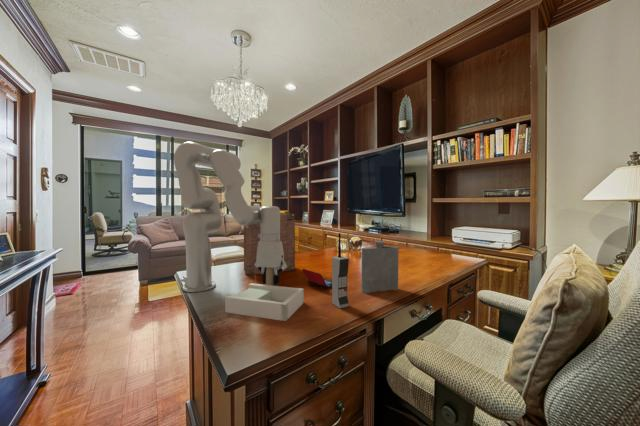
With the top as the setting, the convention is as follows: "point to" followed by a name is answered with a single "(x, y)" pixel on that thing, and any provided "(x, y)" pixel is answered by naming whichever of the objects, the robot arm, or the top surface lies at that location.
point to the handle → (270, 276)
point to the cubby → (267, 303)
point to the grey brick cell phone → (339, 279)
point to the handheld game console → (317, 279)
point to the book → (252, 240)
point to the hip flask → (379, 268)
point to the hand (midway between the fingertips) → (270, 283)
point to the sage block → (255, 294)
